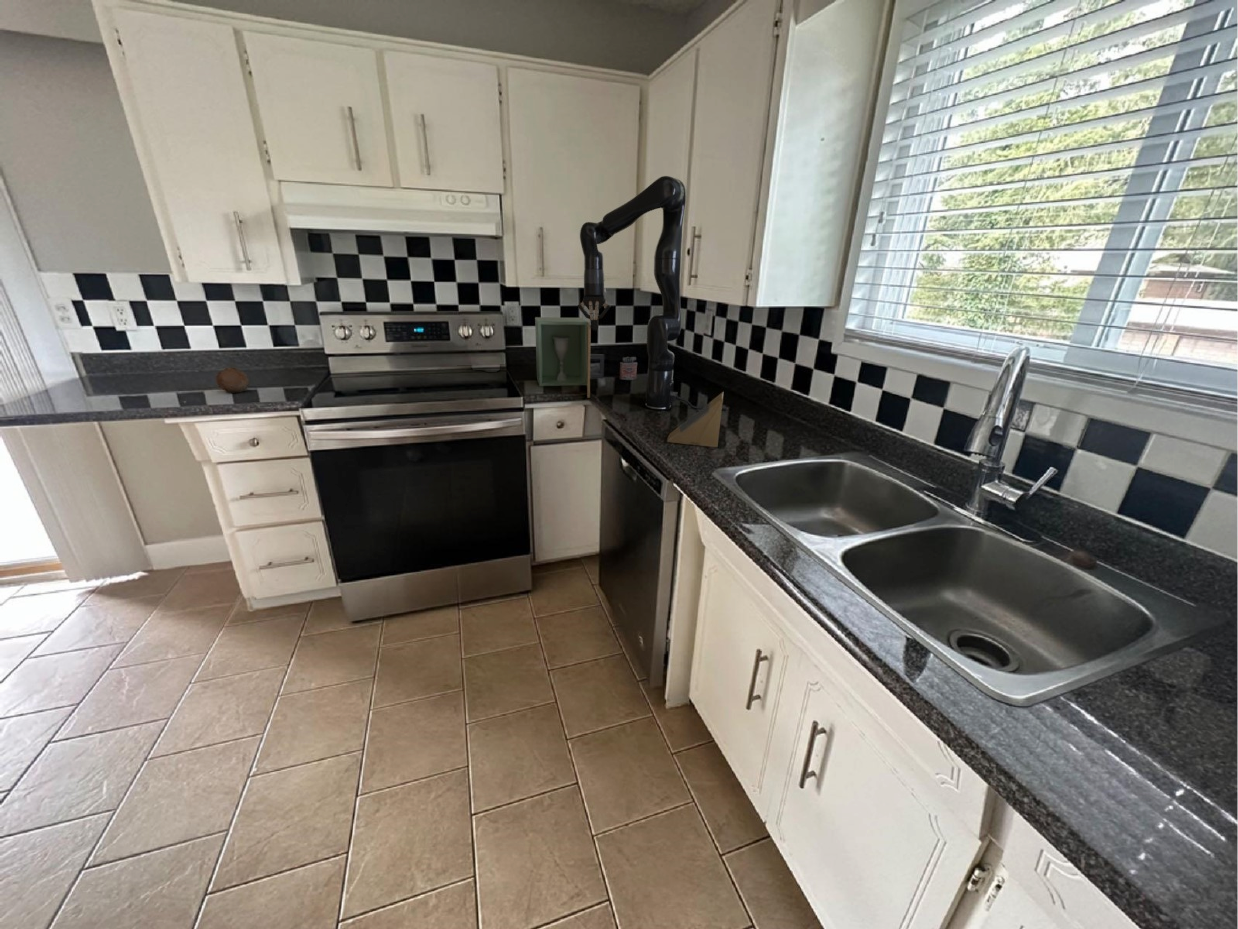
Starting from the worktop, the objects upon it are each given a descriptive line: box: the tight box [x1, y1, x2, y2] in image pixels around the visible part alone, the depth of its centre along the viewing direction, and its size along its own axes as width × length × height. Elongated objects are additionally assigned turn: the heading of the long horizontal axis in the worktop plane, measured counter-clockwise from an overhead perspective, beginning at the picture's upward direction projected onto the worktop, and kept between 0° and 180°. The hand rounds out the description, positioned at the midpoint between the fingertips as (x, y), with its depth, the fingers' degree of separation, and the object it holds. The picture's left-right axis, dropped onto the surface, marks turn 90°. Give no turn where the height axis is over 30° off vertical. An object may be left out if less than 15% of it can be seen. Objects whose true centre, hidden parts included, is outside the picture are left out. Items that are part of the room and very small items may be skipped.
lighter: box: [618, 356, 638, 381], centre depth 226 cm, size 8×3×10 cm, turn 104°
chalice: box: [553, 336, 570, 381], centre depth 214 cm, size 7×7×18 cm
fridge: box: [534, 316, 589, 387], centre depth 213 cm, size 14×20×26 cm
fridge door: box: [586, 321, 605, 399], centre depth 200 cm, size 6×20×26 cm, turn 4°
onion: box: [215, 366, 249, 394], centre depth 184 cm, size 10×9×10 cm
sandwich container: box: [666, 391, 724, 448], centre depth 151 cm, size 9×15×15 cm, turn 78°
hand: (594, 329), depth 192 cm, fingers closed
